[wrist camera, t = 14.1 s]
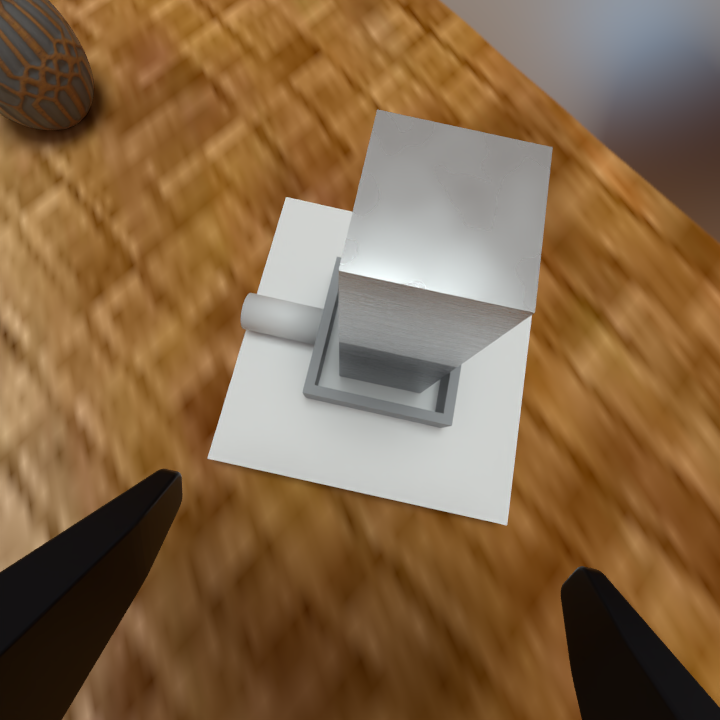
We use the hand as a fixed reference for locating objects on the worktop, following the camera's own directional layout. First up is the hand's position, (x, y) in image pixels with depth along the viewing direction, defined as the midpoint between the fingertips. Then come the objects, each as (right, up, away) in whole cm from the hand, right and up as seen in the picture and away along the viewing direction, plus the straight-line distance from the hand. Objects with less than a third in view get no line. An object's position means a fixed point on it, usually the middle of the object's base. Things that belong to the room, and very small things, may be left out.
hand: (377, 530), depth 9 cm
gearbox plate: (+1, +4, +15) cm, 16 cm away
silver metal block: (+1, +5, +13) cm, 14 cm away
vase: (-21, +21, +18) cm, 35 cm away
